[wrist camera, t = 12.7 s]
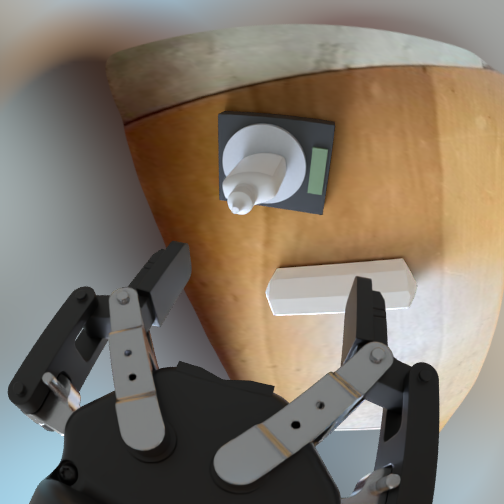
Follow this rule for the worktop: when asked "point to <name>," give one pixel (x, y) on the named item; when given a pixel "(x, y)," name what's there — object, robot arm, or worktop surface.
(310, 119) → the kitchen scale
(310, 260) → the worktop surface
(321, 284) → the chamfered white bar
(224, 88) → the worktop surface
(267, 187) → the eye dropper bottle
